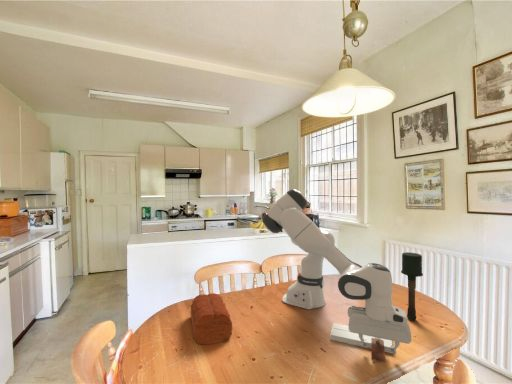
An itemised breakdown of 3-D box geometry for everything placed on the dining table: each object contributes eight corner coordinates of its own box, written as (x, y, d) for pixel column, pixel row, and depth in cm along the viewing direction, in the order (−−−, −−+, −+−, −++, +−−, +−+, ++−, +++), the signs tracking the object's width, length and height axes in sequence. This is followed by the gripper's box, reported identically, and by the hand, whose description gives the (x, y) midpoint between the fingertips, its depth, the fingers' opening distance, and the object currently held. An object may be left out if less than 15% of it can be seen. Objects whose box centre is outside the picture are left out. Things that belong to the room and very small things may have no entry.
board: (330, 339, 103) (330, 334, 103) (333, 327, 113) (333, 322, 113) (392, 353, 95) (392, 347, 95) (390, 339, 104) (390, 334, 104)
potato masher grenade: (426, 325, 115) (426, 256, 115) (404, 322, 117) (404, 255, 117) (418, 315, 123) (418, 252, 123) (398, 314, 125) (398, 251, 125)
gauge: (371, 359, 91) (371, 342, 91) (371, 339, 103) (371, 325, 103) (384, 362, 90) (384, 345, 90) (382, 342, 102) (382, 327, 102)
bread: (222, 310, 129) (222, 289, 129) (234, 340, 103) (234, 313, 103) (189, 315, 124) (189, 292, 124) (194, 347, 99) (194, 319, 99)
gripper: (347, 308, 94) (347, 346, 94) (412, 319, 86) (412, 361, 86) (348, 301, 100) (348, 337, 100) (409, 311, 92) (409, 350, 92)
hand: (378, 348), depth 93 cm, fingers open, 8 cm apart
